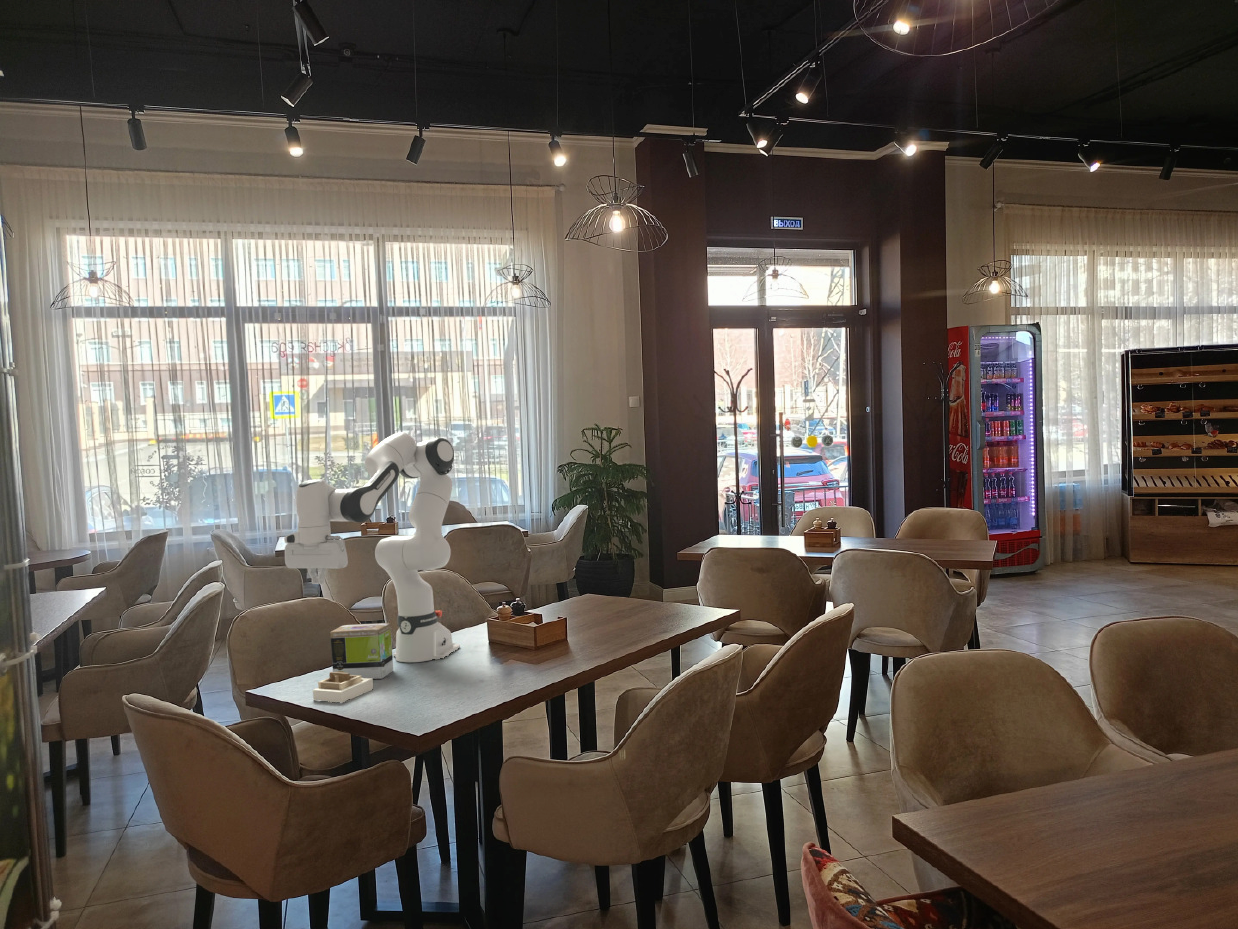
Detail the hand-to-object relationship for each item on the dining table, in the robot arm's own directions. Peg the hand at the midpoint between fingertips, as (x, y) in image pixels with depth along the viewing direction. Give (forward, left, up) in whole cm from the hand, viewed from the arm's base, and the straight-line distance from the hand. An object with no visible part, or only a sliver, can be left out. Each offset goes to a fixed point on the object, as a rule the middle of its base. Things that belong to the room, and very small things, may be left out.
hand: (317, 583), depth 249 cm
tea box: (-10, +6, -29) cm, 32 cm away
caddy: (+8, +13, -29) cm, 33 cm away
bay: (+8, +13, -29) cm, 33 cm away
